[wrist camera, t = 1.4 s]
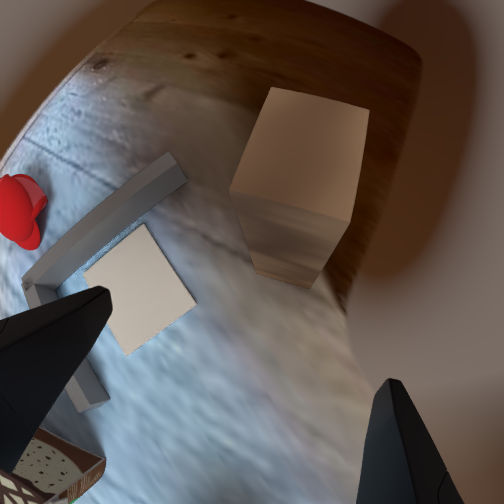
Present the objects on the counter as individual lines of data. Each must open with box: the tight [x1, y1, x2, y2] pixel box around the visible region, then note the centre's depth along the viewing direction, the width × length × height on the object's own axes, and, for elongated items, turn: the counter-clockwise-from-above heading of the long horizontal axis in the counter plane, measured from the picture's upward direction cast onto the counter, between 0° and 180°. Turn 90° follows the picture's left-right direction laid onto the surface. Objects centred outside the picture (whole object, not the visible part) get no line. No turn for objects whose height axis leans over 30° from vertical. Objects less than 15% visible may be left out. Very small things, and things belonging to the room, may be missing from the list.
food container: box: [0, 426, 106, 504], centre depth 14 cm, size 12×6×10 cm, turn 83°
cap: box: [0, 174, 48, 250], centre depth 23 cm, size 8×6×6 cm
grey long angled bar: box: [21, 151, 198, 413], centre depth 21 cm, size 12×17×3 cm
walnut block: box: [229, 87, 369, 289], centre depth 16 cm, size 4×5×13 cm
